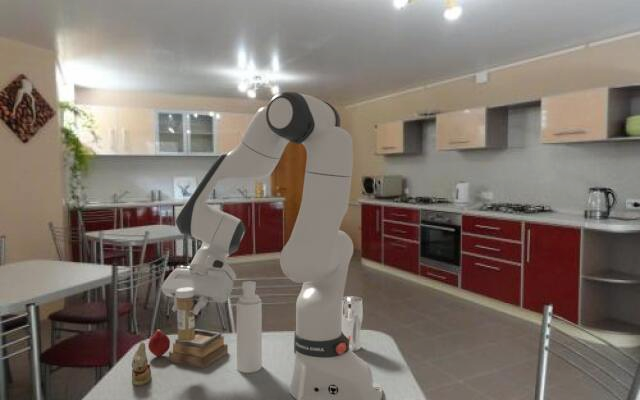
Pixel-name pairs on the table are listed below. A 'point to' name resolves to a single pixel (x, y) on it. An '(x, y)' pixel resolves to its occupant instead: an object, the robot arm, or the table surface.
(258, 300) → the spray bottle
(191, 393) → the table surface
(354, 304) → the beer glass
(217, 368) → the table surface
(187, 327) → the sprinkles bottle
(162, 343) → the onion
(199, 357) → the brown wooden square tray
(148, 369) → the chocolate bunny
